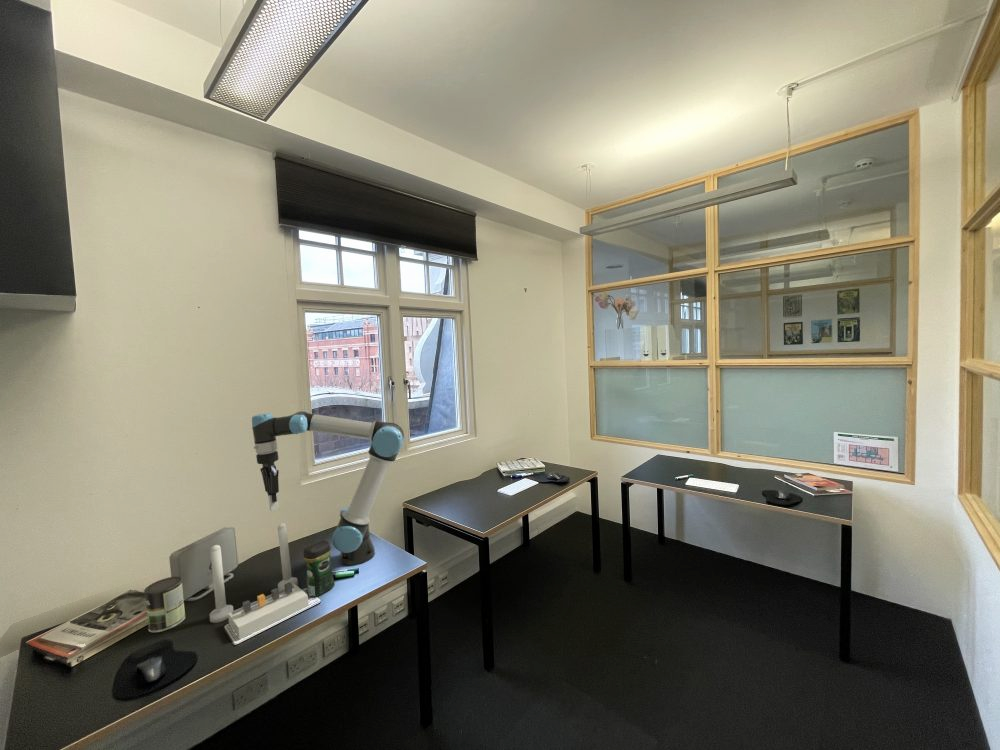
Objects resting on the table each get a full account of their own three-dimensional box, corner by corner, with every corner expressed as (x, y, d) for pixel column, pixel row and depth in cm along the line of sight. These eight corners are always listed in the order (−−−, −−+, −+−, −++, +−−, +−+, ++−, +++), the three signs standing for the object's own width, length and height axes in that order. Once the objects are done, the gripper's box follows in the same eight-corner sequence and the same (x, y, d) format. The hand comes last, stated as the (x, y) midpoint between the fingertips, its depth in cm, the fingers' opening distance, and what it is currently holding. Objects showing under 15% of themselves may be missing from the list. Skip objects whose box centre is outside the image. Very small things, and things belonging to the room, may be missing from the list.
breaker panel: (295, 594, 155) (294, 583, 155) (308, 605, 147) (307, 594, 146) (229, 624, 138) (227, 612, 138) (239, 639, 130) (238, 626, 130)
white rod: (298, 580, 165) (292, 518, 163) (297, 589, 158) (290, 524, 157) (279, 585, 162) (273, 522, 161) (277, 594, 156) (270, 529, 154)
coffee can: (146, 637, 135) (142, 596, 134) (149, 622, 143) (145, 584, 142) (185, 623, 141) (181, 584, 140) (186, 610, 149) (182, 573, 148)
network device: (187, 606, 151) (181, 555, 150) (168, 605, 153) (163, 554, 152) (243, 570, 176) (238, 526, 175) (226, 569, 178) (222, 525, 177)
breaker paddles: (292, 590, 149) (292, 581, 149) (295, 592, 148) (294, 582, 148) (240, 613, 137) (239, 603, 137) (242, 616, 135) (241, 606, 135)
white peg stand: (236, 608, 148) (229, 539, 147) (230, 619, 142) (223, 547, 140) (213, 613, 146) (206, 543, 145) (207, 625, 139) (199, 551, 138)
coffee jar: (325, 581, 163) (322, 536, 162) (337, 586, 158) (334, 540, 157) (303, 594, 154) (298, 547, 154) (315, 599, 150) (310, 551, 149)
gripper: (250, 453, 163) (258, 509, 164) (262, 456, 154) (270, 515, 155) (270, 448, 168) (278, 503, 169) (283, 451, 160) (290, 509, 161)
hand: (274, 509), depth 162 cm, fingers closed
